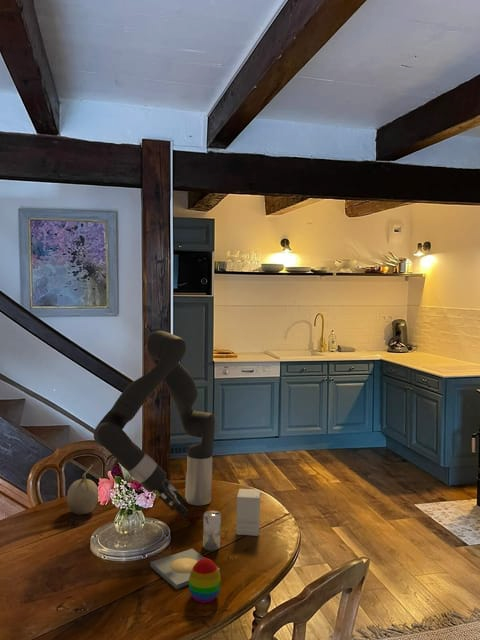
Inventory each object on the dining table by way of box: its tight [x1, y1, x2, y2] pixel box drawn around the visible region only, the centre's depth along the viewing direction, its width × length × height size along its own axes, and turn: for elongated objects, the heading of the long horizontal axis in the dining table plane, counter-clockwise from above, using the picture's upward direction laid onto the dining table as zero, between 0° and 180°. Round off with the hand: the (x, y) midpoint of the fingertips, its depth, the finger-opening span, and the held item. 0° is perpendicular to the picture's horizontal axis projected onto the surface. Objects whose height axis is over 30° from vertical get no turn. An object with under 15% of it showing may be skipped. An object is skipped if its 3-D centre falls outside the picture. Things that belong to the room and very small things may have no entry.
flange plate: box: [150, 548, 221, 590], centre depth 150 cm, size 14×14×1 cm
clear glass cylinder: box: [202, 510, 222, 551], centre depth 164 cm, size 5×5×10 cm
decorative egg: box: [188, 557, 222, 604], centre depth 137 cm, size 8×8×10 cm
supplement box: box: [235, 488, 261, 537], centre depth 175 cm, size 7×7×13 cm
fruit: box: [66, 464, 99, 515], centre depth 184 cm, size 10×12×15 cm
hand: (184, 508), depth 162 cm, fingers open, 8 cm apart
